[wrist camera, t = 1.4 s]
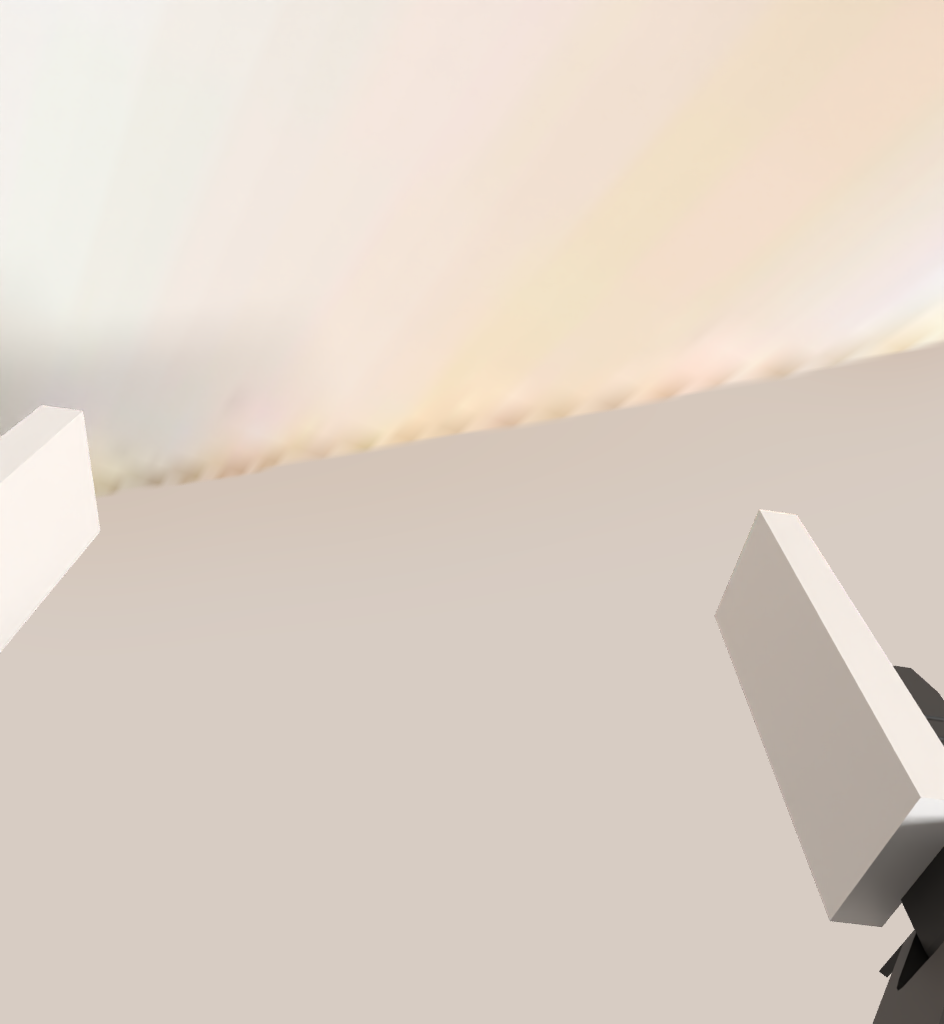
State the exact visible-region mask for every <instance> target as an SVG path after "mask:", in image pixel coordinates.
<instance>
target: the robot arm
mask: <svg viewBox="0 0 944 1024" xmlns="http://www.w3.org/2000/svg"><path fill="white" fill-rule="evenodd" d="M99 532H100V525H99V518H98V511H97V504H96V497H95V490H94V483H93V476H92V469H91V462H90V455H89V448H88V441H87V434H86V427H85V421H84V414H83V411H81V410H74V409H67V408H60V407H54V406H47V405H41V406H39V407H38V408H37V409H36V410H34V411H33V412H32V413H30V414H29V415H28V416H27V417H25V418H24V419H23V420H21V421H20V422H19V423H18V424H16V425H15V426H14V427H13V428H11V429H10V430H9V431H7V432H6V433H5V434H4V435H2V436H1V437H0V652H1V651H2V650H3V649H4V648H5V646H6V645H7V644H8V643H9V642H10V640H11V639H12V638H13V637H14V635H15V634H16V633H17V632H18V631H19V629H20V628H21V627H22V626H23V625H24V623H25V622H26V621H27V620H28V619H29V617H30V616H31V615H32V614H33V612H34V611H35V610H36V609H37V608H38V606H39V605H40V604H41V602H42V601H43V600H44V599H45V598H46V597H47V596H48V594H49V593H50V592H51V591H52V589H53V588H54V587H55V586H56V585H57V583H58V582H59V581H60V580H61V579H62V577H63V576H64V575H65V573H66V572H67V571H68V570H69V569H70V568H71V566H72V565H73V564H74V563H75V561H76V560H77V559H78V558H79V557H80V555H81V554H82V553H83V552H84V551H85V549H86V548H87V547H88V546H89V545H90V543H91V542H92V541H93V539H94V538H95V537H96V536H97V535H98V533H99ZM715 618H716V621H717V623H718V626H719V629H720V631H721V634H722V637H723V639H724V642H725V644H726V647H727V650H728V653H729V655H730V658H731V660H732V663H733V666H734V668H735V671H736V674H737V676H738V679H739V682H740V684H741V687H742V690H743V692H744V695H745V698H746V700H747V703H748V706H749V708H750V711H751V714H752V716H753V719H754V722H755V724H756V726H757V729H758V732H759V735H760V737H761V740H762V743H763V745H764V748H765V751H766V753H767V756H768V759H769V761H770V764H771V767H772V769H773V772H774V774H775V777H776V780H777V782H778V785H779V788H780V790H781V793H782V795H783V798H784V801H785V803H786V806H787V809H788V812H789V814H790V817H791V820H792V822H793V825H794V827H795V830H796V833H797V835H798V838H799V841H800V843H801V846H802V849H803V851H804V854H805V856H806V859H807V862H808V865H809V867H810V870H811V872H812V875H813V878H814V881H815V883H816V886H817V888H818V891H819V893H820V896H821V899H822V902H823V904H824V907H825V910H826V912H827V915H828V918H829V920H830V921H834V922H843V923H852V924H861V925H869V926H877V927H882V926H883V925H884V924H885V923H886V921H887V920H888V919H889V918H890V916H891V915H892V914H893V913H894V911H895V910H896V909H897V908H898V907H899V905H900V904H901V903H903V906H904V908H905V910H906V912H907V914H908V916H909V918H910V920H911V922H912V925H913V927H914V929H915V930H914V931H913V932H912V933H911V935H910V936H909V937H908V938H907V939H906V940H905V942H904V943H903V944H902V945H901V946H900V947H899V949H898V950H897V951H896V952H895V953H894V954H893V956H892V957H891V958H890V959H889V960H888V961H887V963H886V964H885V965H884V966H883V967H882V968H881V970H880V971H879V972H881V973H882V974H883V975H884V976H886V977H888V976H889V975H890V974H891V973H892V974H891V977H890V980H889V982H888V985H887V987H886V990H885V993H884V995H883V998H882V1000H881V1003H880V1006H879V1009H878V1011H877V1014H876V1016H875V1019H874V1022H873V1024H944V700H943V699H942V697H941V696H940V694H939V693H938V692H937V691H936V690H935V689H934V688H932V687H931V686H930V685H929V684H928V683H927V682H926V681H925V680H924V679H923V678H921V677H920V676H919V675H918V674H917V673H916V672H915V671H914V670H912V669H911V668H905V667H899V666H892V664H891V662H890V661H889V659H888V658H887V656H886V654H885V653H884V651H883V650H882V648H881V647H880V645H879V643H878V642H877V640H876V639H875V637H874V636H873V634H872V632H871V631H870V629H869V628H868V626H867V625H866V623H865V621H864V620H863V618H862V617H861V615H860V614H859V612H858V611H857V609H856V607H855V606H854V604H853V603H852V601H851V600H850V598H849V596H848V595H847V593H846V592H845V590H844V588H843V587H842V585H841V584H840V582H839V580H838V579H837V577H836V576H835V574H834V573H833V571H832V569H831V568H830V566H829V565H828V563H827V561H826V560H825V558H824V557H823V555H822V554H821V552H820V550H819V549H818V548H817V546H816V544H815V543H814V541H813V539H812V538H811V537H810V535H809V533H808V532H807V530H806V529H805V527H804V526H803V524H802V522H801V521H800V519H799V517H798V516H797V515H795V514H789V513H782V512H775V511H768V510H761V509H759V511H758V513H757V516H756V518H755V520H754V523H753V525H752V528H751V530H750V532H749V535H748V537H747V540H746V542H745V544H744V547H743V549H742V551H741V554H740V556H739V559H738V561H737V563H736V566H735V568H734V571H733V573H732V575H731V578H730V580H729V583H728V585H727V587H726V590H725V592H724V594H723V597H722V599H721V602H720V604H719V606H718V609H717V611H716V614H715Z"/></svg>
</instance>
